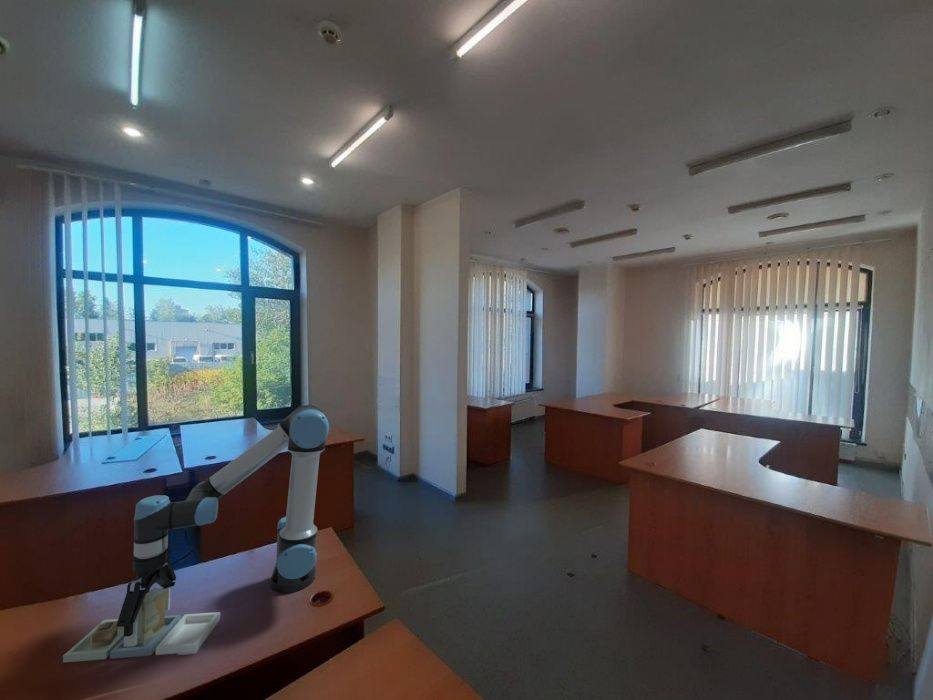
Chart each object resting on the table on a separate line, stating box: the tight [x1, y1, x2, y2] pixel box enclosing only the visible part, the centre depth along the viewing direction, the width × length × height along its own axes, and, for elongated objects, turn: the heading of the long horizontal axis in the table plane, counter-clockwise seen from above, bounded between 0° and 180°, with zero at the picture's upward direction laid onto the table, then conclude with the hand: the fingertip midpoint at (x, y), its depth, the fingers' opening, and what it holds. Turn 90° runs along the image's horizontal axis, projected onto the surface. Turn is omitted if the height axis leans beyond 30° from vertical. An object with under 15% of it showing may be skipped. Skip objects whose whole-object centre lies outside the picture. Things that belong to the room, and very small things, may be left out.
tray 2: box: [109, 614, 182, 660], centre depth 106 cm, size 10×13×2 cm
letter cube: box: [92, 621, 118, 649], centre depth 104 cm, size 4×4×4 cm
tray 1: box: [62, 618, 124, 663], centre depth 104 cm, size 10×13×2 cm
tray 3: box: [155, 611, 221, 656], centre depth 107 cm, size 10×13×2 cm
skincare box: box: [135, 587, 166, 646], centre depth 106 cm, size 6×4×12 cm
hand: (148, 626), depth 106 cm, fingers open, 13 cm apart
